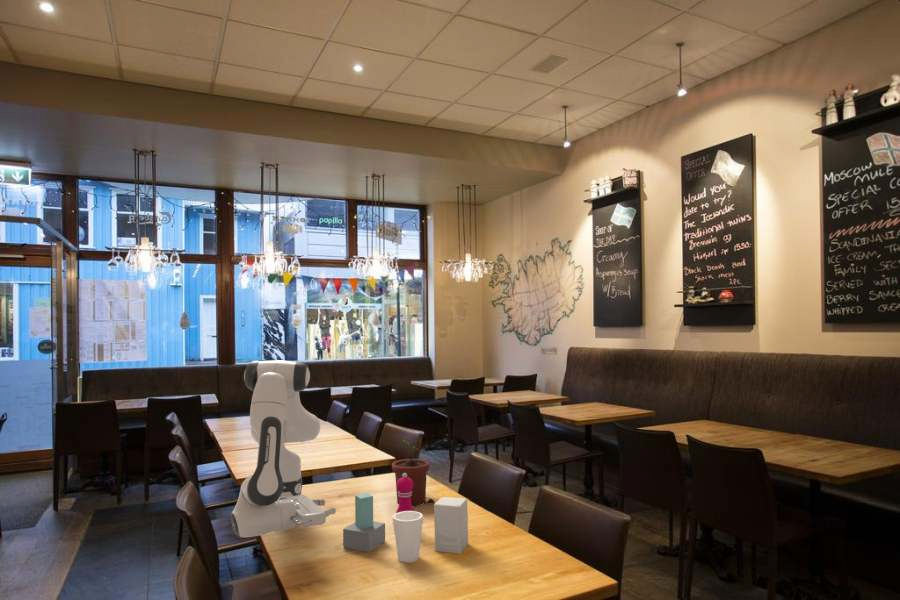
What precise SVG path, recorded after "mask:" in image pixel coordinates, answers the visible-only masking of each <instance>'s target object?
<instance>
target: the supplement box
mask: <svg viewBox="0 0 900 600" xmlns="http://www.w3.org/2000/svg"><path fill="white" fill-rule="evenodd" d="M433 515H434V517H433V518H434V551H435V552H443V553H451V554H462V553H463V551H464V550H465V549H466V547H467V546H468V545H469V527H468V526H469V525H468V524H469V522H468V521H469V518H468V515H469V514H468V499H467V498H464V497H463V498H462V497H449V496H442V497H440V499H439V500H437V501H436V502H435V503H433Z"/></svg>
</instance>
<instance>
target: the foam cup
mask: <svg viewBox="0 0 900 600" xmlns="http://www.w3.org/2000/svg"><path fill="white" fill-rule="evenodd" d="M423 523H424V515H423V513H421V512H419V511H415V510H414V511H403V512H398V513H396V512H395V513H394V514H393V515H392V525H393V531H394V537H395V545H396V554H397V557H398V558H397V559H398V561H400V562H402V563H413V562H416V561H417V560H419V556H420V549H421V538H422V529H423Z"/></svg>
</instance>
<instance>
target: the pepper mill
mask: <svg viewBox="0 0 900 600" xmlns="http://www.w3.org/2000/svg"><path fill="white" fill-rule="evenodd" d="M396 486H397V489H398V490H399V491H398V496H399V505H398V507H397V509H396V512H395V514H396V513H398V512H403V511H415V510H414V507H412V505H411V495H412V491H411V489H412V488H413V481H412V480H411V479H410V478H408V477H407V474H406V473H403V475H402V478H400V479H399V480H398V481H397V485H396V484H395V487H396Z"/></svg>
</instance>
